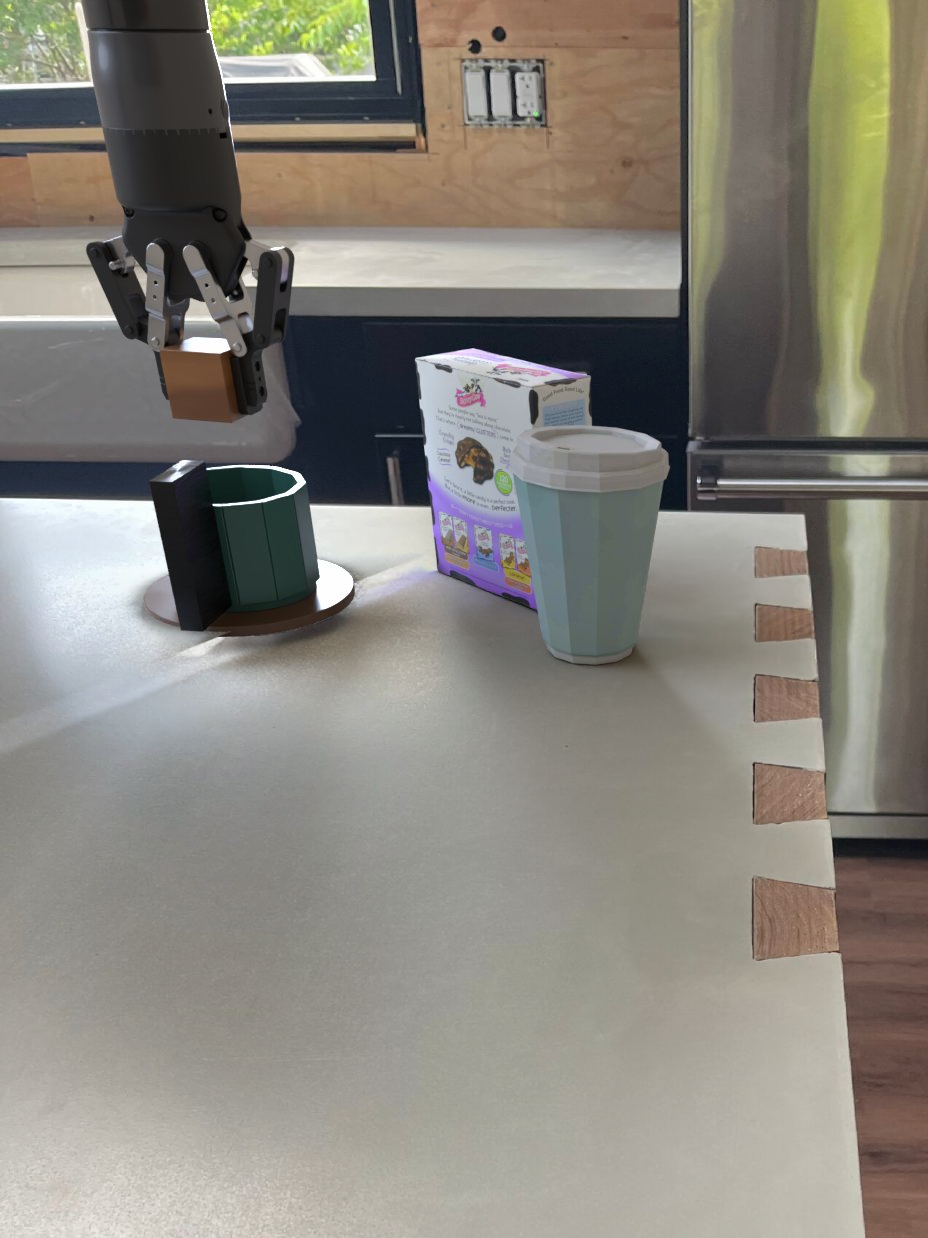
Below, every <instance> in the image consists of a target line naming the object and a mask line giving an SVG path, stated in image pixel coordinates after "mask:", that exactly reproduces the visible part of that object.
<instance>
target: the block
mask: <svg viewBox="0 0 928 1238" xmlns="http://www.w3.org/2000/svg"><path fill="white" fill-rule="evenodd" d="M159 352H160V357H161V362H162V367H163V372H164V377H165V382H166V387H167V392H168V397H169V400H168V402H169V407H170V411H171V416H172V417H171V418H172V419H173V420H185V421H197V422H199V421H200V422H210V423H211V422H212V423H222V424H223V423H224V424H225V423H226V424H233V423H235V422H237V421H239V420H241V419H244V418H246V417H248V416H249V415H242V414H240V413H239V410H238V405H237V399H236V394H235V388H234V382H233V376H232V370H231V365H230V359H229V358H230V357H233V356H234V354H233V353H232V352H231V350H230V348H229V346H228V343H227V341H226V339H225V338H217V337H203V336H202V337H201V336H191V337H190V338H186V339H185V340H184V339H183V341H181V342H179V343H176V344H173V345H170V346H168V347H165V348H162V349H159ZM262 409H264V406H263V407H262Z"/></svg>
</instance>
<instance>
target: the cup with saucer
mask: <svg viewBox="0 0 928 1238" xmlns="http://www.w3.org/2000/svg"><path fill="white" fill-rule="evenodd" d="M148 483H149V488H150V493H151V498H152V502H153V507H154V511H155V517H156V521H157V526H158V531H159V535H160V540H161V544H162V550H163V553H164V559H165V562H166V563H165V564H166V567H167V568H166V569H167V572H168V574H167V575H165V576H163V577H161V578H159V579H157V580H156V581H155V582H153V583H152V584H151V585H150V586H149V587H148V588H147V589H146V591H145V592H144V595H143V597H142V598H143V599H142V600H143V606H144V609H145V610H146V612H147V613H148V614H149V615H150V617H152V618H154V619H155V620H157V621H159V622H162V623H164V624H166V625H170V626H174V627H178V628H179V629H180V631H183V632H201V633H203V632H221V633H222V632H226V633H224V634H220V635H218V636H217V638H245V637H246V638H247V637H257V636H258V637H259V636H268V635H273V634H279V633H285V632H290V631H295V630H298V629H302V628H306V627H309V626H313V625H315V624H318V623H321V622H323V621H326V620H328V619H330V618H332V617H334V616H336V615H338V614H339V613H341V612H343V611H344V610H345V609H346V608H348V606H350V605H351V604H352V602H353V601H354V598H355V596H356V588H355V582H354V579H353V576H352V575H351V574H350V573H349V571H347V570H346V569H345V568H343V567H340V566H339V565H337V564H334V563H331V562H329V561H325V560H321V559H319V558H318V552H317V545H316V539H315V532H314V531H315V530H314V524H313V520H312V519H313V517H312V512H311V511H312V510H311V505H310V497H309V491H308V484H307V482H306V480H305V478H304V477H303V476H302V474H301V473H299V472H298V471H294V470H289V469H286V468H282V467H279V466H273V465H272V466H270V465H254V464H253V465H252V464H251V465H249V464H238V465H237V464H236V465H226V466H225V465H223V466H215V467H207V465H206V461H204V460H190V459H189V460H188V459H187V460H186V459H182V460H180V461H179V462H177V463H176V464H173V465H172V466H171V467H169V468H168V469H166V470H164V471H163V472H161V473H160V474H158V475H156V476H155V477H153V478H151V479H150V480H149V481H148Z"/></svg>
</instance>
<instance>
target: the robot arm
mask: <svg viewBox="0 0 928 1238" xmlns="http://www.w3.org/2000/svg"><path fill="white" fill-rule="evenodd" d="M80 3H81V9H82V13H83V18H84V23H85V27H86V29H88V30H87V31H86V33H87V34H86V35H87V41H88V49H89V62H90V63H89V64H90V72H91V79H92V84H93V90H94V94H95V99H96V105H97V108H98V113H99V119H100V124H101V128H102V134H103V139H104V143H105V148H106V149H105V150H106V153H107V158H108V163H109V169H110V173H111V177H112V183H113V188H114V192H115V197H116V200H117V202H118V204H120V207H122V211H123V215H124V216H123V219H124V220H123V225H122V229H121V235H119V236H115V237H109V238H105V239H100V240H96V241H90V242H89V243H87V244H86V247H85V252H86V255H87V258H88V260H89V262H90V264H91V267H92V269H93V271H94V273H95V276H96V278H97V280H98V282H99V284H100V286H101V289H102V291H103V294H104V295H105V298H106V300H107V303H108V304H109V306H110V309H111V310H112V313H113V315H114V317H115V320H116V322H117V324H118V327H119V328H120V331H121V333H122V335H123V336H124V337H125V338H126V339H127V340H130V341H132V340H137V341H139V342H142V343H144V344H146V345H148V346H149V347H150V349H151V350H152V352H153V355H154V357H155V358H154V359H155V363H156V368H157V373H158V376H159V377H158V378H159V382H160V388H161V393H162V395H163V396H164V398H165V401H169V397H168V392H167V387H166V382H165V377H164V372H163V367H162V362H161V357H160V352H159V349H162V348H165V347H168V346H170V345H173V344H176V343H179V342H181V341H184V334H185V320H186V314H187V312H188V311H189V308H190V305H191V299H192V300H195V301H196V302H199V303H200V302H201V303H205V306H206V308H207V310H208V312H209V313H210V316H211V318H212V320H213V321H214V322H215V323H217V324H218V325H219V327H220V329H221V332H222V334H223V336H224V339H226V341H227V343H228V346H229V348H230V350H231V352H232V353H233V354H234V356H233V357H230V358H229V359H230V365H231V370H232V376H233V382H234V388H235V394H236V399H237V405H238V410H239V413H240V414H242V415H248V416H254V415H255V414H257V413H259V412H261V411H262V409H263V408H264V405H263V404H265V403H267V400H268V395H269V394H268V388H267V383H266V376H265V370H264V363H263V357H262V355H263V351H264V349H267V348H269V347H271V346H273V345H275V344H279V343H282V342H284V341H285V340H286V338H287V335H288V326H289V325H288V324H289V317H290V308H291V307H290V306H291V299H292V297H291V296H292V288H293V280H294V279H293V278H294V271H295V262H296V261H295V260H296V259H295V254H294V253H293V251H292V250H291V248H289V247H287V246H281V247H272V246H271V245H267V244H265V243H263V242H260V241H258V240H254V239H253V236H252V234H251V232H250V230H249V229H248V226H247V225H246V223H245V221H244V218H243V214H242V190H241V185H240V179H239V172H238V171H239V170H238V166H237V159H236V153H235V146H234V140H233V139H234V138H233V133H232V127H231V121H230V120H231V119H230V107H229V103H228V100H227V95H226V89H225V84H224V79H223V73H222V69H221V66H220V62H219V58H218V54H217V51H216V47H215V44H214V40H213V34H212V32H211V31H210V30H212V28H211V27H212V26H211V22H210V15H209V9H208V3H207V0H80ZM136 262H137V264H138V265H139V266H140V268H141V269H142V270H143V272H144V273H145V274H146V287H145V292H144V290H143V288H142V285H141V283H140V281H139V279H138V276H137V274H136V272H135V268H136V267H135V265H136ZM248 262H249V263H250V266H251V275H252V277H253V278H254V279H255V281H256V292H255V302H254V304H255V305H254V304H253V302H252V299H251V295H250V294H249V292H248V289H247V287H246V284H245V282H244V280H243V277H242V275H243V272H244V270H245V268H246V266H247V264H248ZM227 298H228V300H227ZM253 310H254V313H253ZM262 407H263V408H262Z"/></svg>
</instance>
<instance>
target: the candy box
mask: <svg viewBox="0 0 928 1238" xmlns="http://www.w3.org/2000/svg"><path fill="white" fill-rule="evenodd" d="M414 363H415V373H416V380H417V391H418V400H419V408H420V409H419V410H420V419H421V428H422V429H421V430H422V436H423V437H422V438H423V447H424V449H423V451H424V456H425V457H424V458H425V467H426V475H427V484H428V485H427V486H428V494H429V504H430V513H431V521H432V522H431V524H432V533H433V542H434V551H435V560H436V569H437V571H438V572H439V573H442V574H444V575H447V576H449V577H453V578H455V579H458V580H460V581H461V582H464V583H467V584H470V585H472V586H475V587H478V588H479V589H482V590H484V591H487V592H489V593H493V594H496V595H498V596H500V597H503V598H505V599H508V600H510V601H513V602H515V603H519V604H521V605H523V606H526V607H528V608H531V609H533V610H537V605H536V599H535V594H534V588H533V583H532V577H531V571H530V566H529V560H528V555H527V549H526V543H525V538H524V532H523V527H522V521H521V515H520V510H519V504H518V499H517V493H516V487H515V482H514V476H513V472H511V471H510V470H509V469H508V468H509V466H510V454H511V453H512V451H513V450H514V448H515V447H516V445H517V437H518V436H519V435H520V434H521V433H523V432H524V431H525V430H530V429H535V428H541V427H546V426H568V425H588V426H593V418H592V417H593V416H592V411H593V410H592V376H591V375H587V374H583V373H578V372H573V371H570V370H564V369H560V368H556V367H551V366H548V365H544V364H539V363H536V362H531V361H526V360H523V359H518V358H514V357H511V356H505V355H501V354H498V353H493V352H489V351H485V350H482V349H477V348H467V349H461V350H455V351H454V350H453V351H448V352H443V353H436V354H432V355H426V356H420V357H419V356H418V357H415V359H414Z"/></svg>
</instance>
